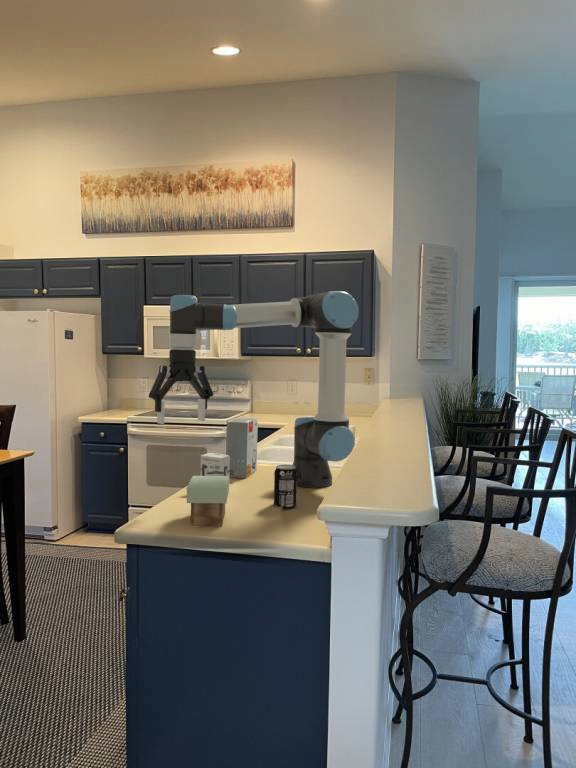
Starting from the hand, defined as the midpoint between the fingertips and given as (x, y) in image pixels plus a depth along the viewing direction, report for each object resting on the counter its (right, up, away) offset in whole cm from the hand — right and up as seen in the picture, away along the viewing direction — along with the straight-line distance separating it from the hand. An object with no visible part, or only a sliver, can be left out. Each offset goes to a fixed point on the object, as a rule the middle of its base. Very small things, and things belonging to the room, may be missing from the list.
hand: (181, 422), depth 182 cm
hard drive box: (+14, -22, +47) cm, 54 cm away
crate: (+10, -26, -16) cm, 32 cm away
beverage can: (+30, -25, +2) cm, 39 cm away
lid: (+10, -19, -16) cm, 27 cm away
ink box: (+7, -24, +20) cm, 32 cm away
